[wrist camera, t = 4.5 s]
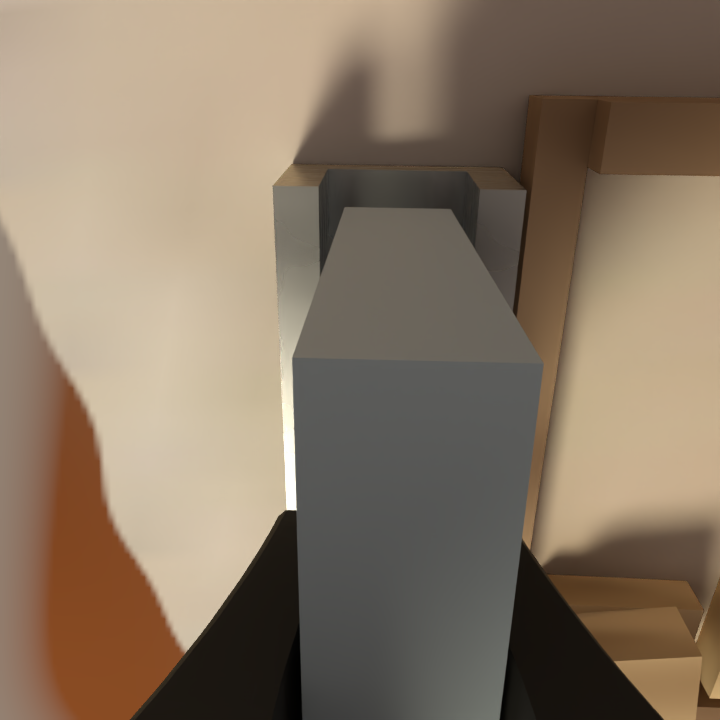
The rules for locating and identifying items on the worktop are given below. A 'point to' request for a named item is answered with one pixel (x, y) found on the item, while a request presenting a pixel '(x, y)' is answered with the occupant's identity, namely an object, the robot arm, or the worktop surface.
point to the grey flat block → (409, 472)
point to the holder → (379, 190)
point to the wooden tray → (563, 208)
